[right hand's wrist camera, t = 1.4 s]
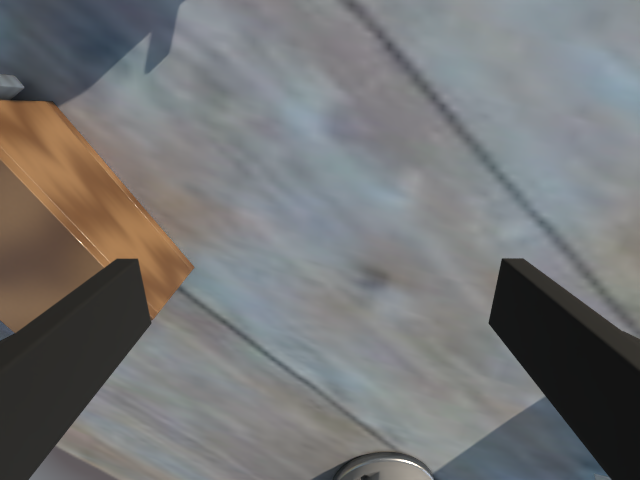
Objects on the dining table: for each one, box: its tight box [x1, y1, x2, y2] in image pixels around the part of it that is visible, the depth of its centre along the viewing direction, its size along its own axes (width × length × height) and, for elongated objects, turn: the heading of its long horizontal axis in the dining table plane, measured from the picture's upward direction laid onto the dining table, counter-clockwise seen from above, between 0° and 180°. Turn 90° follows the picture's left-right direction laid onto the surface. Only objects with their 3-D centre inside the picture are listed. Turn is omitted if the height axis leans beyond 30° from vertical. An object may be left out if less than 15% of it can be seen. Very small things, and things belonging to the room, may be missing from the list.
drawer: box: [0, 74, 25, 100], centre depth 29 cm, size 25×10×8 cm, turn 33°
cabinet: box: [0, 100, 194, 333], centre depth 31 cm, size 20×11×10 cm, turn 33°
